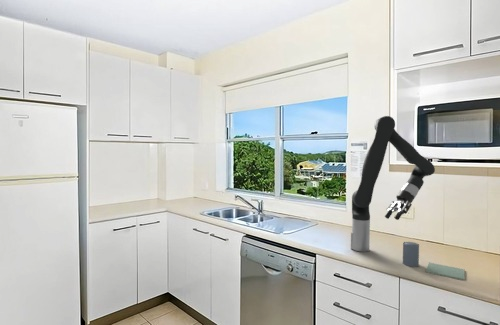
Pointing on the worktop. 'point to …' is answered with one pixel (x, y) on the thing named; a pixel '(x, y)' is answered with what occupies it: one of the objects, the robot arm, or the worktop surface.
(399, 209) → the robot arm
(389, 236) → the worktop surface
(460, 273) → the mat
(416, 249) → the grey octagonal prism
